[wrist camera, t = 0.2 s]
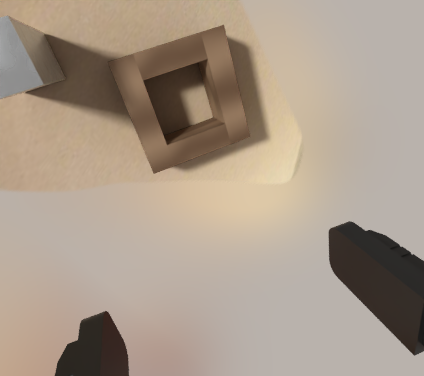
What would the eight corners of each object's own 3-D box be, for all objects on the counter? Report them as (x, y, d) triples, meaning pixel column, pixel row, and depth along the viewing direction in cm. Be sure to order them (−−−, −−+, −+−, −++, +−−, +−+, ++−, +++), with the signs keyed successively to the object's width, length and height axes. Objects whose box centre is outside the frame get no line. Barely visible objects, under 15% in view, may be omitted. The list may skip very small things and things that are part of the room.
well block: (108, 62, 32) (107, 62, 28) (210, 29, 34) (223, 24, 30) (149, 162, 37) (153, 173, 33) (236, 129, 39) (250, 136, 35)
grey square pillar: (-4, 46, 29) (-65, 35, 19) (43, 32, 29) (7, 15, 19) (22, 92, 31) (-21, 104, 21) (65, 79, 31) (43, 84, 21)
